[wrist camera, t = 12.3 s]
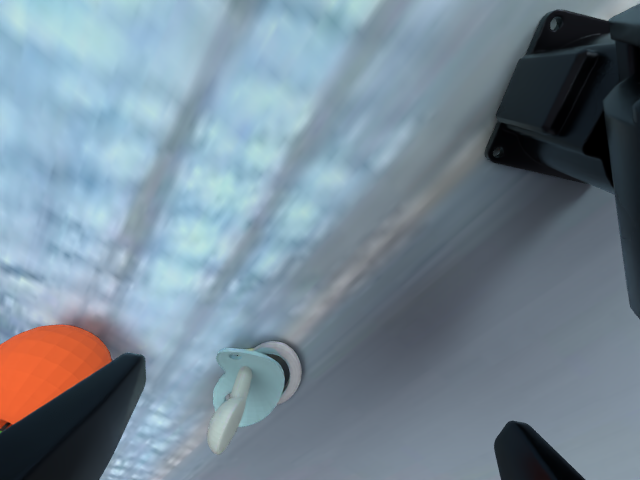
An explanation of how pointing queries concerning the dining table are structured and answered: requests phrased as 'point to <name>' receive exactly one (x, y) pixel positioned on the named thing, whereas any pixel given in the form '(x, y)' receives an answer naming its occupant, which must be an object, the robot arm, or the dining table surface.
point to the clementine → (45, 367)
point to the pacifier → (250, 389)
